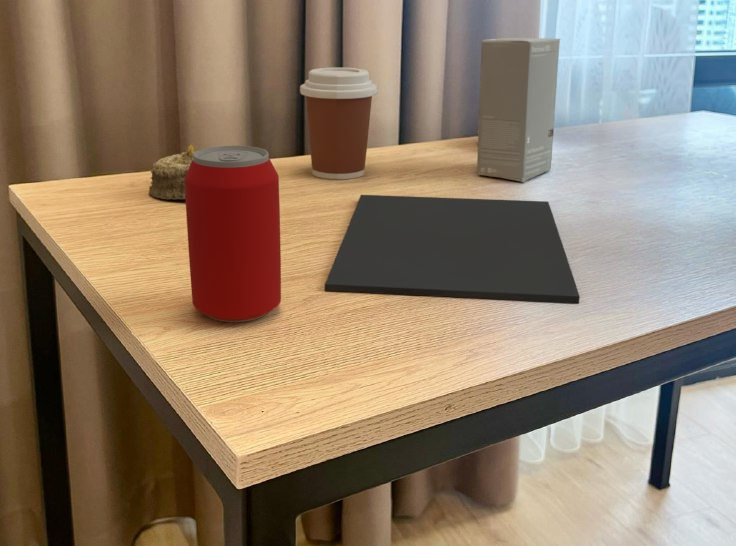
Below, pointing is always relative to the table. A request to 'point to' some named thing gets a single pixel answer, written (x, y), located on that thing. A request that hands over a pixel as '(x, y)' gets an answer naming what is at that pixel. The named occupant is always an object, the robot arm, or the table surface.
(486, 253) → the mat
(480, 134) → the cosmetic box
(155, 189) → the cake
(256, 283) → the beverage can
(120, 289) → the table surface
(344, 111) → the coffee cup
